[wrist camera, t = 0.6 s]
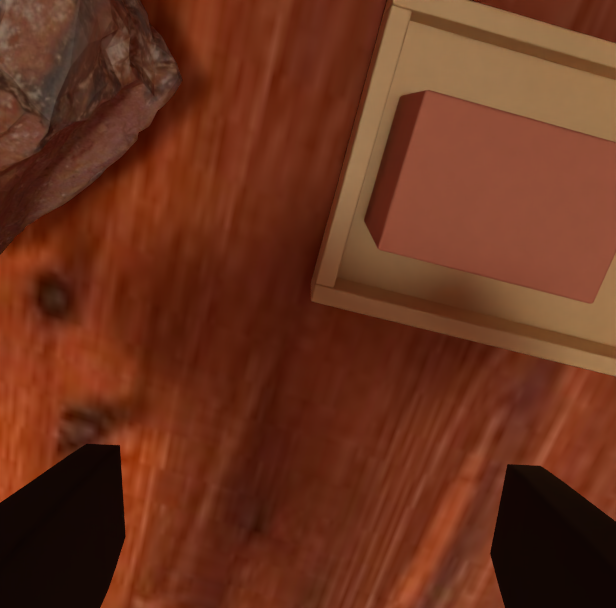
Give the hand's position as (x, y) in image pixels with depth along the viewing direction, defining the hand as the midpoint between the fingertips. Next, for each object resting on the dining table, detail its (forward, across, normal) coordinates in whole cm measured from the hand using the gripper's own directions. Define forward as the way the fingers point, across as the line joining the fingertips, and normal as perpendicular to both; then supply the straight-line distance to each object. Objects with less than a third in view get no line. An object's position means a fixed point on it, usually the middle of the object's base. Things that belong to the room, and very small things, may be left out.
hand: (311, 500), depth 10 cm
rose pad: (+9, -5, -5) cm, 12 cm away
